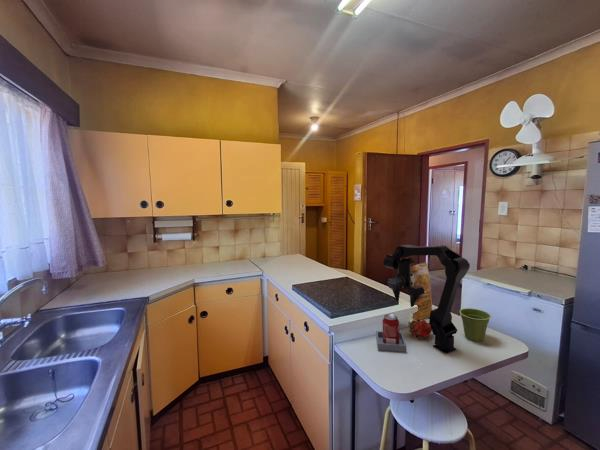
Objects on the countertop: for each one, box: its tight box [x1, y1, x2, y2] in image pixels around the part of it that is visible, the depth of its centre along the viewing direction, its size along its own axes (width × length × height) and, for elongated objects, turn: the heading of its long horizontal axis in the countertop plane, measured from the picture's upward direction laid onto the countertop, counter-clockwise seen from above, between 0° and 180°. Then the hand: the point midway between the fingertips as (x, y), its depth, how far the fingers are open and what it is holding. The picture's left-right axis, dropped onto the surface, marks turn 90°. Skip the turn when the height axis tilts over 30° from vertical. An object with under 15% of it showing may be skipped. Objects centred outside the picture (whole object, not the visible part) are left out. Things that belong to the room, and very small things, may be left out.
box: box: [375, 330, 407, 354], centre depth 118 cm, size 11×11×3 cm
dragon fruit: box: [409, 319, 433, 340], centre depth 124 cm, size 8×8×12 cm
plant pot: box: [458, 307, 492, 343], centre depth 121 cm, size 12×12×11 cm
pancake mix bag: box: [411, 261, 433, 321], centre depth 146 cm, size 7×19×28 cm, turn 123°
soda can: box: [382, 313, 400, 344], centre depth 118 cm, size 7×7×12 cm
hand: (404, 303), depth 130 cm, fingers open, 9 cm apart
